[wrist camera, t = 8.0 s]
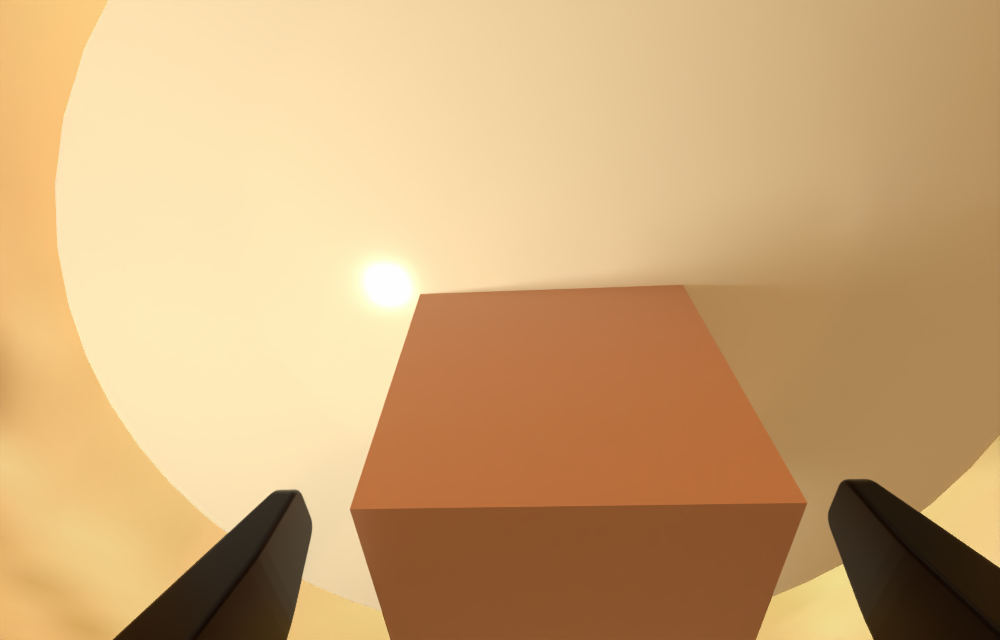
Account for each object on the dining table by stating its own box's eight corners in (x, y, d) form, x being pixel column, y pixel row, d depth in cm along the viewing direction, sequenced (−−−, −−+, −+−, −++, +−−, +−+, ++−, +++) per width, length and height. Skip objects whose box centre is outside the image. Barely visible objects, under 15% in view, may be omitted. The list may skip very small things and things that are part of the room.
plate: (861, 598, 17) (882, 636, 16) (263, 601, 18) (248, 638, 17) (1343, -316, 7) (1497, -376, 5) (-143, -171, 8) (-245, -198, 7)
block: (656, 469, 12) (727, 714, 8) (448, 473, 13) (413, 712, 8) (682, 284, 10) (807, 503, 6) (420, 293, 10) (349, 509, 6)
